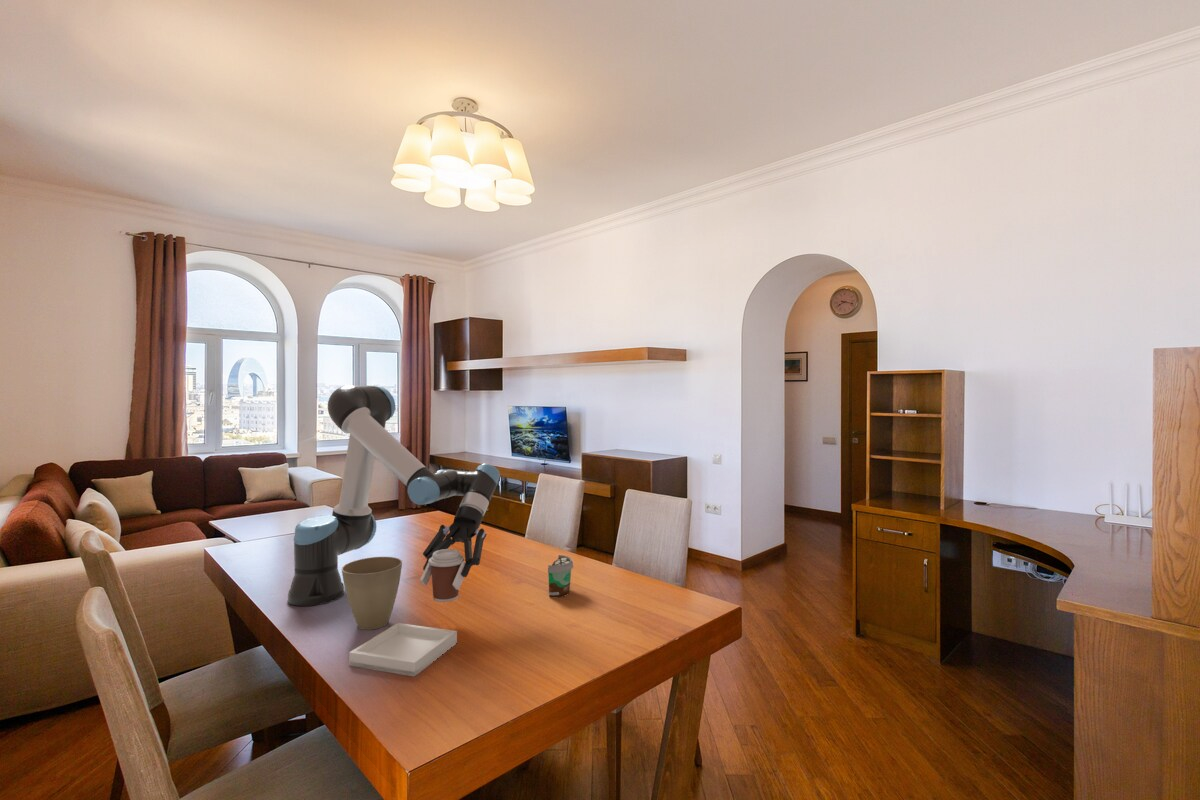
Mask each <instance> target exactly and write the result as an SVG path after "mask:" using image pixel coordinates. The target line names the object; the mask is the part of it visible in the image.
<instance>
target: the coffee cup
mask: <svg viewBox="0 0 1200 800" xmlns="http://www.w3.org/2000/svg"><path fill="white" fill-rule="evenodd" d="M462 562H465V557H463V555H461V552H460V550H458V549H452V548H448V549H443V550H438V551H435V552H434V553H433V556H432V557H431V558H430V559H429V560H428V563H429V565H431V573H432V575H431V584H432V599H433V600H434V601H435V602H438V603H448V602H452V601H455V600H457V599H458V598H459V591H460V589H459V590H456V589H455V588H454V586H453V585H452V584H453V582H454V579H455V577H456V575H457V572H458V570H459V568H460V565H461V563H462Z"/></svg>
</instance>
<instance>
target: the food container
mask: <svg viewBox="0 0 1200 800" xmlns="http://www.w3.org/2000/svg"><path fill="white" fill-rule="evenodd" d="M547 566H548V567H547V574H548V596H549V597H558V598H563V597H566V596H568V595H569V594H570V593H569V592H570V590H571V580H572V579H571V577H572V576H571V575H572V569H574V563H573V560H572V558H571V557H569V556H567V555H562V554H558V558H557V559H556V560H555V561H553V563H552V564H551V565H549V564H548V565H547ZM567 594H568V595H567ZM565 595H566V596H565ZM562 596H563V597H562ZM549 597H548V598H549Z"/></svg>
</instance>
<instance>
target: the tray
mask: <svg viewBox="0 0 1200 800" xmlns="http://www.w3.org/2000/svg"><path fill="white" fill-rule="evenodd" d="M457 632H458V631H457V630H453V629H443V628H438V627H430V626H422V625H415V624H408V623H400V622H397V623H396V624H394V625H392V626H390V627H389V628H387V629H386V630H384V631H382V632H381V633H379V634H377V635H376V636H374V637H372V638H371V639H369V640H367V641H366V642H364V643H362V644H360V645H359V646H357V647H356V648H355V649H352V650H350V651H349V652H348V653H349V655H348V656H349V657H348V658H349V659H348V660H349V667H353V668H354V667H356V668H360V669H361V668H362V669H368V670H374V671H379V672H384V673H385V672H386V673H391V674H396V675H403V676H408V677H416V676H417V675H419V674H420V673H421V672H422V671H424V670H425V669H426V668H428V667H429V666H430V665H431V664H432V663H434V662H435V661H436V660H438V659H439V658H440V657H442V656H443V655H444V654H445V653H446V652H448V651H449V650H451V649H452V648H453V647H455V645H457V644H458V633H457ZM456 643H457V644H456ZM451 647H452V648H451ZM447 650H448V651H447ZM442 654H443V655H442ZM437 658H438V659H437ZM433 661H434V662H433Z"/></svg>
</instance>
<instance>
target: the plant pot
mask: <svg viewBox="0 0 1200 800" xmlns="http://www.w3.org/2000/svg"><path fill="white" fill-rule="evenodd" d="M402 566H403V560H402V559H400V558H398V557H394V556H374V557H367V558H360V559H357V560H353V561H350V562H348V563H346V564H344V565H343V566H342V567H341V573H342V580H343V581H342V582H343V585H344V591H345V593H346V597H347V601H348V604H349V607H350V610H351V613H352V615H353V617H354V620H355V623H356V625H357V626H358V628H359V629H361V630H366V631H367V630H369V631H370V630H371V629H372V630H376V629H380V628H383V627H385V626H386V625H387V624H388V623H389V621H390V618H391V616H392V612H393V609H394V605H395V602H396V599H397V595H398V591H399V586H400V581H401V574H402Z"/></svg>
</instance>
